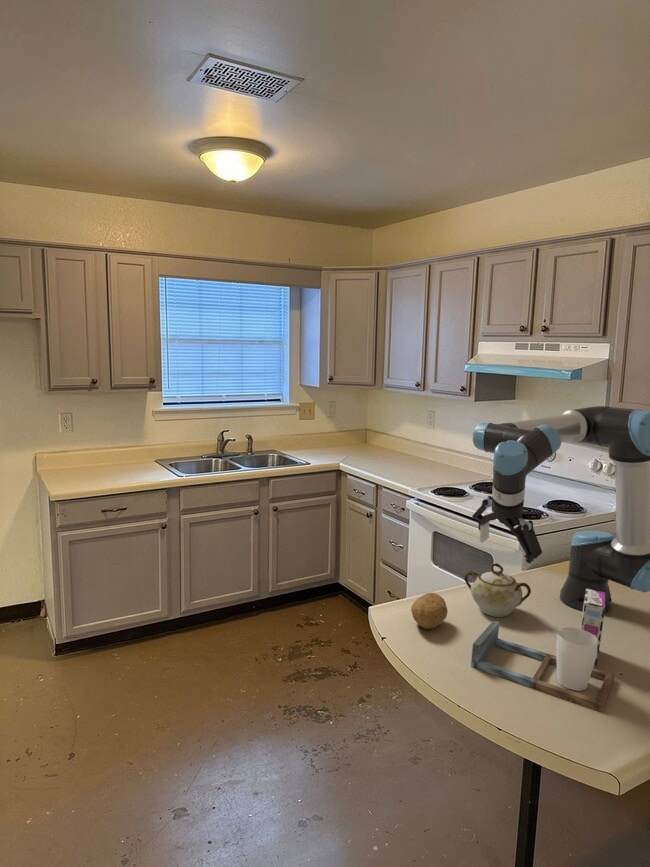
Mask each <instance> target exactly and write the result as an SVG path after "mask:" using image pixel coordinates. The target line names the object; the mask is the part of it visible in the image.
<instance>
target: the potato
mask: <svg viewBox="0 0 650 867" xmlns="http://www.w3.org/2000/svg"><path fill="white" fill-rule="evenodd" d="M410 611H411V614H412V618H413V620H414V621H415V622H416V624H417V625H418V626H419V627H421V628H423V629H425V630H429V629H430V630H431V629H435V628H437V627H438V626H439V625H440V624H442V623H443V622H444V621H445V619H447V615H448V612H449V611H448V607H447V604H446V601H445V599H444V598H443V597H442V596H441V595H440V594H438V593H435V592H426V593H425V594H423V595H421V596H420V597H418V598H417V599H415V600H414V602H413V604H411V608H410Z"/></svg>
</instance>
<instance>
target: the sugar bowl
mask: <svg viewBox="0 0 650 867" xmlns="http://www.w3.org/2000/svg"><path fill="white" fill-rule="evenodd" d="M494 567H497V568H498V569H499V570H495V569H494ZM490 569H491V571H488V572H483V573H480V574H479V573H477V572H474V571H467V572H466V573H465V575H464V582H465V585H467V586H468V588H469V590H470V593H471V596H472V598H473V600H474V602H475V603H476V605H477V607H478V608H479V610H480V611H481V613H483V614H484V615H487V616H489V617H490V616H491V617H496V618H504V617H508V616H509V615H510V614H511V613H512V612H513V611H514V610H515V609H516V608H517V607H519V606H520V605H522V603H523V602H524V601H525V600H527V599H528V598H529V597H530V595H531V593H532V590H531V586H530V585H529V584H528V583H526V582H518V581H517V580H516V579H515V578H514V577H513V576H511V575H509V574H506V573H504V568H503V566H501V564H500V563H497V562H495V563H493V564H491V566H490ZM469 576H472V577H473V581H472V583H471V584H470V582H469V580H468V577H469ZM522 587H524V588H526V589H527V590H526V591H527V592H526V594H525V595H524V596H523V590H522V589H523V588H522Z"/></svg>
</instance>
